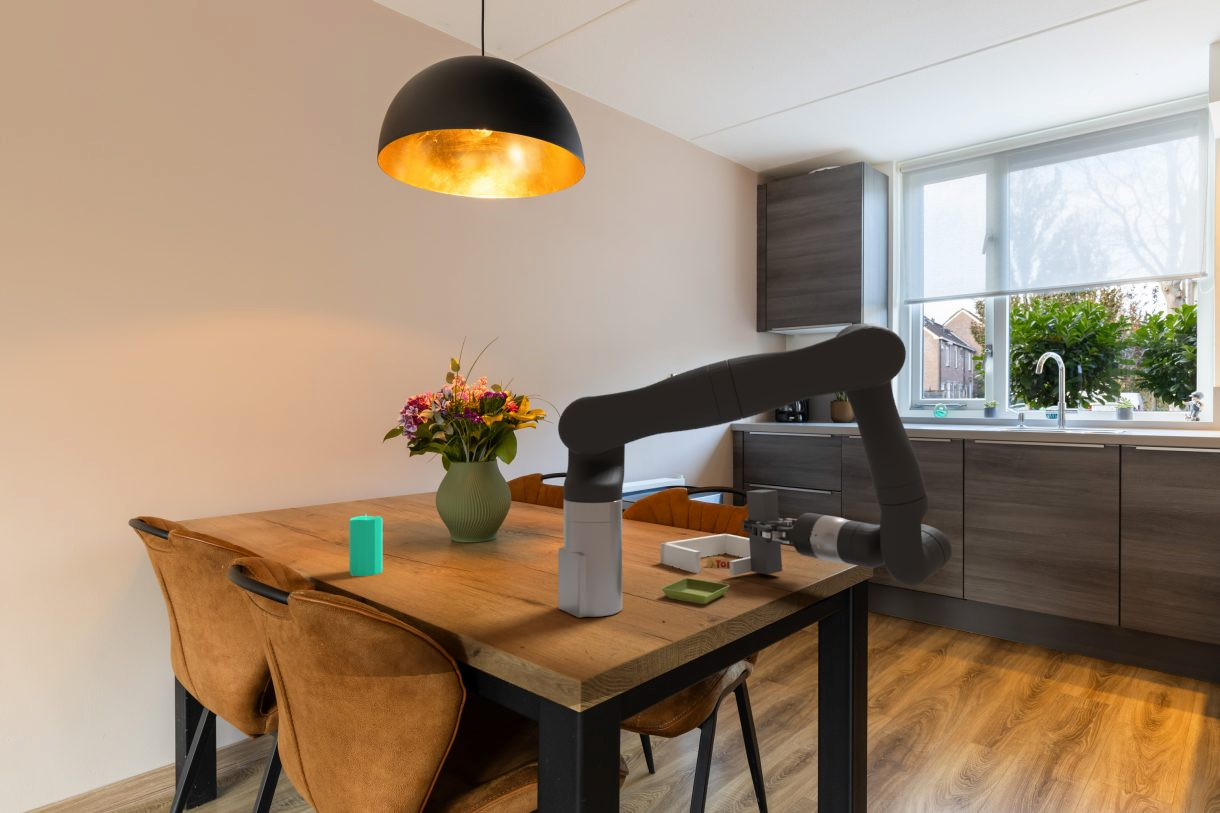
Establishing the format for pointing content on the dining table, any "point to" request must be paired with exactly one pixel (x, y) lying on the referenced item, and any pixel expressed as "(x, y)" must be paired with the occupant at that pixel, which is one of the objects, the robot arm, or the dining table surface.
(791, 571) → the dining table surface
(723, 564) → the chocolate bar
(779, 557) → the grey upright piece
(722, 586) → the green square dish
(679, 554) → the white walled enclosure
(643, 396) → the robot arm
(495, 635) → the dining table surface
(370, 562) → the candle
